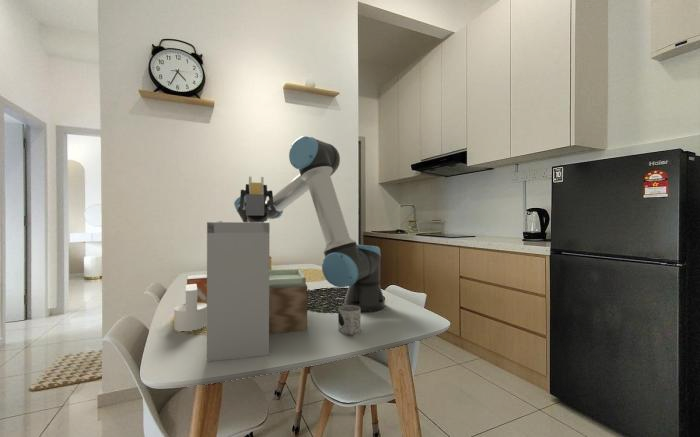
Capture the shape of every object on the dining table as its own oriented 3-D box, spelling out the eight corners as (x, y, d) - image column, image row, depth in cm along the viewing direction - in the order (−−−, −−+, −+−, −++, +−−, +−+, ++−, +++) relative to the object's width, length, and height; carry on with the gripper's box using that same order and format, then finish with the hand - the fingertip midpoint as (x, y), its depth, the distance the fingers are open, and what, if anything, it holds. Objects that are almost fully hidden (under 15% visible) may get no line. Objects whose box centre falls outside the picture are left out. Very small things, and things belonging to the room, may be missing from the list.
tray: (300, 275, 107) (300, 268, 107) (305, 286, 92) (305, 278, 92) (264, 277, 104) (264, 270, 104) (263, 288, 88) (263, 279, 88)
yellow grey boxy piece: (264, 215, 107) (264, 186, 107) (264, 215, 89) (264, 180, 89) (249, 215, 106) (249, 186, 106) (246, 215, 88) (246, 180, 87)
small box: (186, 318, 101) (186, 278, 101) (186, 312, 106) (186, 275, 106) (213, 314, 104) (213, 276, 104) (212, 309, 110) (212, 273, 110)
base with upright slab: (208, 328, 92) (208, 288, 92) (173, 334, 88) (173, 292, 88) (206, 319, 100) (206, 282, 100) (174, 323, 96) (174, 285, 96)
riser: (301, 312, 108) (301, 275, 108) (307, 330, 91) (307, 286, 91) (262, 315, 104) (263, 277, 104) (261, 334, 88) (261, 289, 88)
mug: (337, 326, 95) (337, 305, 95) (358, 326, 95) (359, 304, 95) (339, 339, 85) (339, 316, 85) (363, 339, 85) (363, 315, 85)
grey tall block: (268, 335, 87) (269, 221, 87) (268, 355, 75) (269, 222, 75) (215, 340, 84) (216, 221, 83) (206, 361, 71) (207, 222, 71)
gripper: (279, 225, 118) (282, 190, 98) (234, 225, 114) (228, 189, 94) (278, 208, 122) (281, 171, 102) (235, 208, 117) (229, 169, 98)
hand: (256, 180), depth 98 cm, fingers closed on yellow grey boxy piece, 3 cm apart
